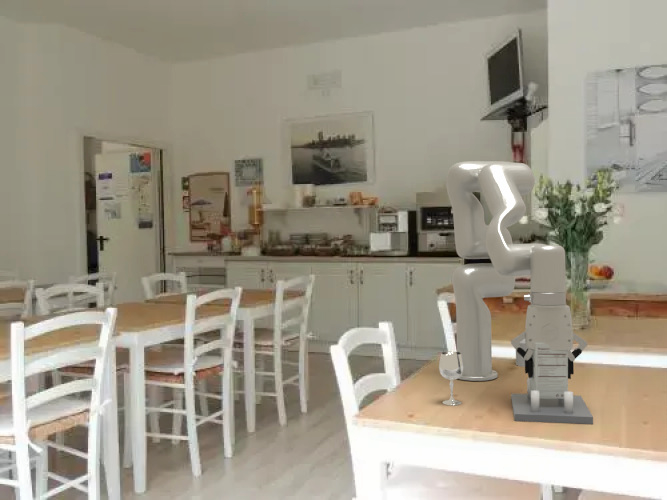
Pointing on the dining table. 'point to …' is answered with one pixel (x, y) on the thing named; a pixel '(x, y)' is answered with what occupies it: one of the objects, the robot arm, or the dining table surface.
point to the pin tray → (550, 408)
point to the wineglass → (451, 371)
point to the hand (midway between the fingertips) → (549, 376)
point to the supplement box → (549, 372)
